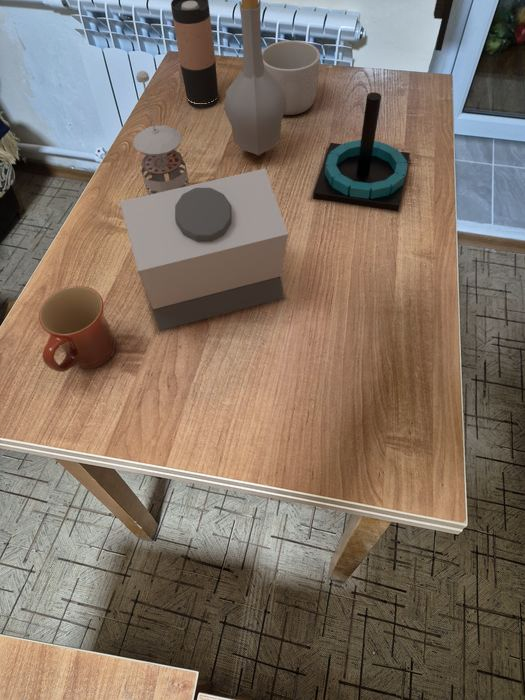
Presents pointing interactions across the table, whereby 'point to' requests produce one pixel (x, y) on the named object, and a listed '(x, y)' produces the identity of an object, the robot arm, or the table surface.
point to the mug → (76, 329)
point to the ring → (362, 188)
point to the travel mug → (196, 50)
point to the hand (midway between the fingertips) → (493, 50)
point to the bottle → (254, 91)
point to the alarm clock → (208, 247)
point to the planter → (294, 72)
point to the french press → (160, 154)
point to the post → (362, 166)
